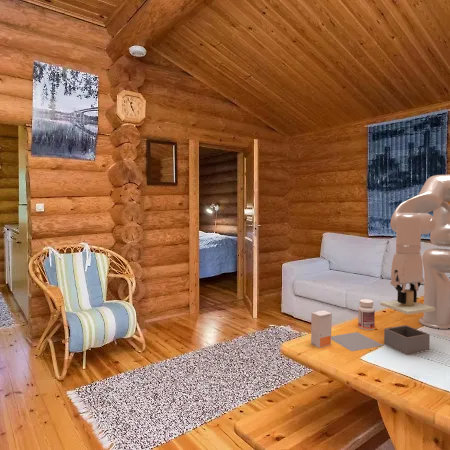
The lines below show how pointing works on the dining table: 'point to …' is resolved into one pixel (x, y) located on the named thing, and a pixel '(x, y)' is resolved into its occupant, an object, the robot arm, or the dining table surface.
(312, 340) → the skincare box
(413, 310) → the lid
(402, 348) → the open grey box
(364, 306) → the pill bottle
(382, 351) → the dining table surface
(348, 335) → the mat
